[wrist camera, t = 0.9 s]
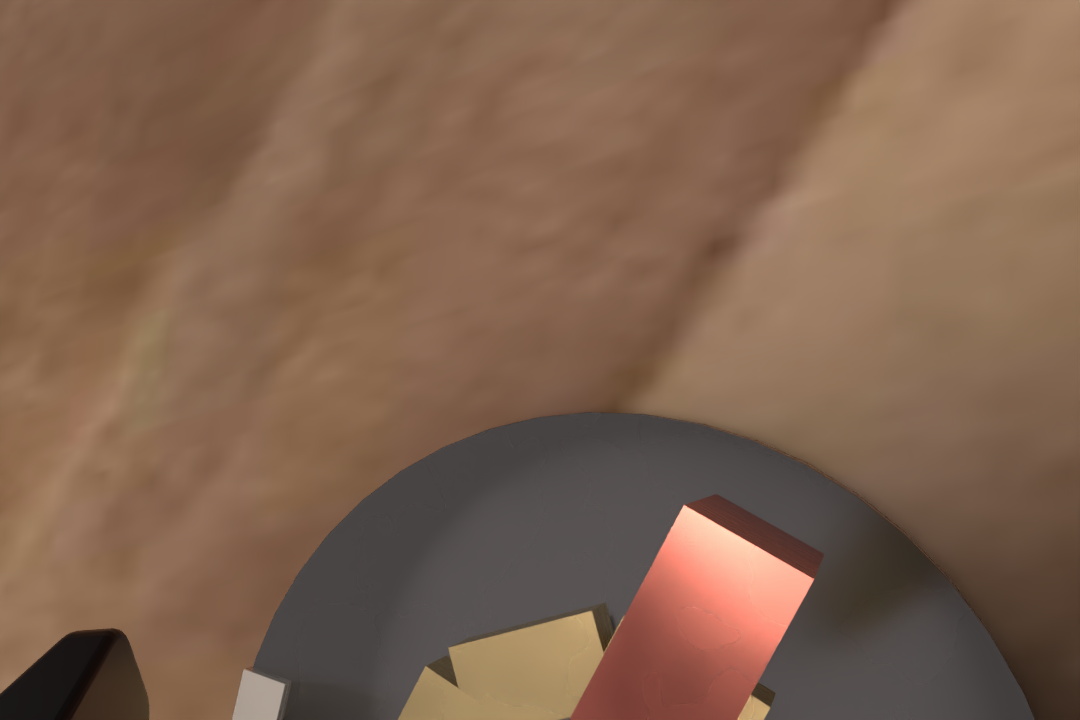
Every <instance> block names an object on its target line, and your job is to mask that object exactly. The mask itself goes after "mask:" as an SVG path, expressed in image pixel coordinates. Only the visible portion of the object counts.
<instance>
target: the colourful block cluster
mask: <svg viewBox="0 0 1080 720" xmlns="http://www.w3.org/2000/svg"><path fill="white" fill-rule="evenodd" d="M823 557H824V553H822V552H820V551H818V550H816V549H815V548H813V547H811V546H809V545H807V544H806V543H804V542H802V541H800V540H799V539H797V538H795V537H793V536H791V535H790V534H788V533H786V532H784V531H782V530H781V529H779V528H777V527H775V526H774V525H772V524H770V523H768V522H766V521H765V520H763V519H761V518H759V517H757V516H756V515H754V514H752V513H750V512H748V511H747V510H745V509H743V508H741V507H740V506H738V505H736V504H734V503H732V502H731V501H729V500H727V499H725V498H723V497H722V496H720V495H718V494H715V495H712V496H709V497H706V498H703V499H700V500H697V501H694V502H691V503H689V504H686V505H684V506H683V508H682V510H681V512H680V513H679V515H678V517H677V519H676V521H675V523H674V525H673V526H672V528H671V530H670V532H669V534H668V536H667V538H666V540H665V541H664V543H663V545H662V547H661V549H660V551H659V553H658V555H657V556H656V558H655V560H654V562H653V564H652V566H651V568H650V570H649V571H648V573H647V575H646V577H645V579H644V581H643V583H642V584H641V586H640V588H639V590H638V592H637V594H636V596H635V598H634V599H633V601H632V603H631V605H630V607H629V609H628V611H627V613H626V614H625V615H624V616H623V618H622V620H621V622H620V623H619V625H618V627H617V629H616V631H615V633H614V630H613V627H612V623H611V619H610V616H609V612H608V609H607V605H606V602H605V603H601V604H598V605H594V606H590V607H586V608H582V609H578V610H574V611H570V612H566V613H563V614H559V615H555V616H551V617H547V618H543V619H539V620H535V621H531V622H528V623H524V624H520V625H516V626H512V627H508V628H504V629H500V630H497V631H493V632H489V633H485V634H481V635H477V636H473V637H469V638H467V639H465V640H463V641H461V642H459V643H457V644H455V645H453V646H451V647H448V649H449V653H450V657H451V658H450V657H449V656H447V655H446V656H444V657H442V658H440V659H438V660H436V661H434V662H432V663H430V664H428V665H426V666H425V668H424V670H423V672H422V674H421V676H420V678H419V680H418V682H417V683H416V685H415V687H414V689H413V691H412V693H411V695H410V697H409V699H408V701H407V703H406V705H405V707H404V708H403V710H402V712H401V714H400V716H399V718H398V720H560V719H564V718H568V717H570V719H569V720H764V718H765V717H766V715H767V713H768V711H769V709H770V708H771V705H772V702H773V700H774V697H775V694H776V693H775V692H773V691H772V690H770V689H768V688H767V687H765V686H763V685H762V684H760V683H759V682H758V681H759V679H760V677H761V675H762V673H763V672H764V670H765V668H766V666H767V664H768V662H769V661H770V659H771V657H772V655H773V653H774V651H775V650H776V648H777V646H778V644H779V642H780V641H781V639H782V637H783V635H784V633H785V631H786V630H787V628H788V626H789V624H790V622H791V621H792V619H793V617H794V615H795V613H796V611H797V610H798V608H799V606H800V604H801V602H802V601H803V599H804V597H805V595H806V593H807V591H808V590H809V588H810V586H811V584H812V582H813V580H814V578H815V576H816V574H817V571H818V569H819V566H820V564H821V561H822V559H823Z"/></svg>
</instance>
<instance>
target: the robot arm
mask: <svg viewBox="0 0 1080 720" xmlns="http://www.w3.org/2000/svg"><path fill="white" fill-rule="evenodd" d="M0 720H149V701H148V696H147V692H146V689H145V687H144V684H143V681H142V678H141V675H140V672H139V669H138V666H137V663H136V660H135V658H134V655H133V652H132V649H131V646H130V643H129V641H128V639H127V637H126V635H125V634H124V633H123V632H122V631H120V630H118V629H114V628H111V629H97V630H83V631H75V632H72V633H70V634H68V635H66V636H65V637H63V638H62V639H61V640H60V641H58V642H57V643H56V644H55V645H54V646H53V647H52V648H51V649H50V650H48V651H47V652H46V653H45V654H44V655H43V656H42V657H41V658H40V659H38V660H37V661H36V662H35V663H34V664H33V665H32V666H31V667H30V668H28V669H27V670H26V671H25V672H24V673H23V674H22V675H21V676H20V677H18V678H17V679H16V680H15V681H14V682H13V683H12V684H11V685H10V686H8V687H7V688H6V689H5V690H4V691H3V692H2V693H1V694H0Z"/></svg>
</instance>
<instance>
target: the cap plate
mask: <svg viewBox="0 0 1080 720" xmlns="http://www.w3.org/2000/svg"><path fill="white" fill-rule="evenodd" d="M715 494H718V495H720V496H722V497H723V498H725V499H727V500H729V501H731V502H732V503H734V504H736V505H738V506H740V507H741V508H743V509H745V510H747V511H748V512H750V513H752V514H754V515H756V516H757V517H759V518H761V519H763V520H765V521H766V522H768V523H770V524H772V525H774V526H775V527H777V528H779V529H781V530H782V531H784V532H786V533H788V534H790V535H791V536H793V537H795V538H797V539H799V540H800V541H802V542H804V543H806V544H807V545H809V546H811V547H813V548H815V549H816V550H818V551H820V552H822V553H824V557H823V559H822V561H821V564H820V566H819V569H818V571H817V574H816V576H815V578H814V580H813V582H812V584H811V586H810V588H809V590H808V591H807V593H806V595H805V597H804V599H803V601H802V602H801V604H800V606H799V608H798V610H797V611H796V613H795V615H794V617H793V619H792V621H791V622H790V624H789V626H788V628H787V630H786V631H785V633H784V635H783V637H782V639H781V641H780V642H779V644H778V646H777V648H776V650H775V651H774V653H773V655H772V657H771V659H770V661H769V662H768V664H767V666H766V668H765V670H764V672H763V673H762V675H761V677H760V679H759V681H758V682H759V683H760V684H762V685H763V686H765V687H767V688H768V689H770V690H772V691H773V692H775V693H776V694H775V697H774V700H773V702H772V705H771V708H770V709H769V711H768V713H767V715H766V717H765V718H764V720H1035V719H1034V717H1033V714H1032V712H1031V710H1030V707H1029V705H1028V702H1027V700H1026V697H1025V695H1024V693H1023V691H1022V690H1021V688H1020V686H1019V684H1018V683H1017V681H1016V679H1015V677H1014V676H1013V674H1012V672H1011V670H1010V669H1009V667H1008V665H1007V663H1006V662H1005V660H1004V658H1003V656H1002V655H1001V653H1000V651H999V649H998V648H997V646H996V644H995V642H994V641H993V639H992V637H991V636H990V634H989V632H988V631H987V629H986V627H985V626H984V624H983V623H982V622H981V620H980V619H979V618H978V616H977V615H976V614H975V612H974V611H973V610H972V608H971V607H970V606H969V604H968V603H967V602H966V600H965V599H964V598H963V596H962V595H961V594H960V593H959V591H958V590H957V589H956V587H955V586H954V585H953V583H952V582H951V581H950V579H949V578H948V577H947V575H946V574H945V573H944V572H943V571H942V570H941V569H940V568H939V567H938V566H937V565H936V564H935V563H934V562H933V561H932V560H931V559H930V558H929V557H928V556H927V555H926V554H925V553H924V552H923V551H922V550H921V548H920V547H919V546H918V545H917V544H916V543H915V542H914V541H913V540H912V539H911V538H910V537H909V536H908V535H907V534H906V533H905V532H904V531H903V530H902V529H900V528H899V527H898V526H897V525H895V524H894V523H893V522H892V521H890V520H889V519H888V518H887V517H885V516H884V515H883V514H882V513H880V512H879V511H878V510H877V509H875V508H874V507H873V506H872V505H870V504H869V503H868V502H867V501H865V500H864V499H863V498H862V497H861V496H859V495H858V494H857V493H855V492H853V491H852V490H850V489H848V488H847V487H845V486H844V485H842V484H840V483H839V482H837V481H835V480H834V479H832V478H831V477H829V476H827V475H826V474H824V473H823V472H821V471H819V470H818V469H816V468H814V467H813V466H811V465H810V464H808V463H806V462H803V461H801V460H799V459H797V458H795V457H792V456H790V455H788V454H786V453H784V452H781V451H779V450H777V449H775V448H773V447H770V446H768V445H766V444H764V443H762V442H759V441H757V440H754V439H751V438H748V437H744V436H741V435H738V434H735V433H731V432H728V431H725V430H722V429H718V428H715V427H712V426H709V425H705V424H700V423H694V422H688V421H682V420H676V419H671V418H665V417H659V416H653V415H644V414H620V413H591V412H588V413H578V414H568V415H558V416H548V417H539V418H534V419H530V420H526V421H521V422H517V423H513V424H509V425H505V426H501V427H497V428H493V429H489V430H486V431H483V432H481V433H478V434H476V435H473V436H471V437H468V438H466V439H463V440H461V441H458V442H455V443H453V444H450V445H448V446H445V447H443V448H441V449H439V450H437V451H436V452H434V453H432V454H430V455H429V456H427V457H425V458H423V459H422V460H420V461H418V462H416V463H414V464H413V465H411V466H409V467H407V468H406V469H404V470H402V471H400V472H399V473H398V474H396V475H395V476H394V477H392V478H391V479H390V480H388V481H387V482H386V483H384V484H383V485H382V486H381V487H379V488H378V489H377V490H375V491H374V492H373V493H371V494H370V495H369V496H367V497H366V498H365V499H363V500H362V501H361V502H360V503H359V504H358V505H357V506H356V507H355V508H354V509H353V510H352V511H351V512H350V513H349V514H348V515H347V516H346V517H345V518H344V519H343V520H342V521H341V522H340V523H339V524H338V525H337V526H336V527H335V528H334V529H333V530H332V531H331V532H330V533H329V534H328V535H327V537H326V538H325V539H324V541H323V542H322V543H321V544H320V546H319V547H318V548H317V550H316V551H315V552H314V553H313V555H312V556H311V557H310V559H309V560H308V561H307V563H306V564H305V565H304V566H303V568H302V569H301V570H300V572H299V573H298V575H297V577H296V578H295V580H294V582H293V584H292V585H291V587H290V589H289V590H288V592H287V594H286V596H285V597H284V599H283V601H282V602H281V604H280V606H279V607H278V609H277V611H276V613H275V615H274V617H273V619H272V622H271V624H270V626H269V629H268V631H267V633H266V636H265V638H264V640H263V643H262V645H261V647H260V650H259V652H258V654H257V657H256V659H255V663H254V666H253V667H248V668H246V669H244V671H243V675H242V679H241V684H240V688H239V692H238V697H237V701H236V705H235V710H234V714H233V718H232V720H398V718H399V716H400V714H401V712H402V710H403V708H404V707H405V705H406V703H407V701H408V699H409V697H410V695H411V693H412V691H413V689H414V687H415V685H416V683H417V682H418V680H419V678H420V676H421V674H422V672H423V670H424V668H425V666H426V665H428V664H430V663H432V662H434V661H436V660H438V659H440V658H442V657H444V656H446V655H447V656H449V657H450V653H449V649H448V647H451V646H453V645H455V644H457V643H459V642H461V641H463V640H465V639H467V638H469V637H473V636H477V635H481V634H485V633H489V632H493V631H497V630H500V629H504V628H508V627H512V626H516V625H520V624H524V623H528V622H531V621H535V620H539V619H543V618H547V617H551V616H555V615H559V614H563V613H566V612H570V611H574V610H578V609H582V608H586V607H590V606H594V605H598V604H601V603H605V602H606V605H607V609H608V612H609V616H610V619H611V623H612V627H613V630H614V633H615V631H616V629H617V627H618V625H619V623H620V622H621V620H622V618H623V616H624V615H625V614H626V613H627V611H628V609H629V607H630V605H631V603H632V601H633V599H634V598H635V596H636V594H637V592H638V590H639V588H640V586H641V584H642V583H643V581H644V579H645V577H646V575H647V573H648V571H649V570H650V568H651V566H652V564H653V562H654V560H655V558H656V556H657V555H658V553H659V551H660V549H661V547H662V545H663V543H664V541H665V540H666V538H667V536H668V534H669V532H670V530H671V528H672V526H673V525H674V523H675V521H676V519H677V517H678V515H679V513H680V512H681V510H682V508H683V506H684V505H686V504H689V503H691V502H694V501H697V500H700V499H703V498H706V497H709V496H712V495H715ZM450 658H451V657H450ZM569 719H570V717H568V718H564V719H560V720H569Z"/></svg>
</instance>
